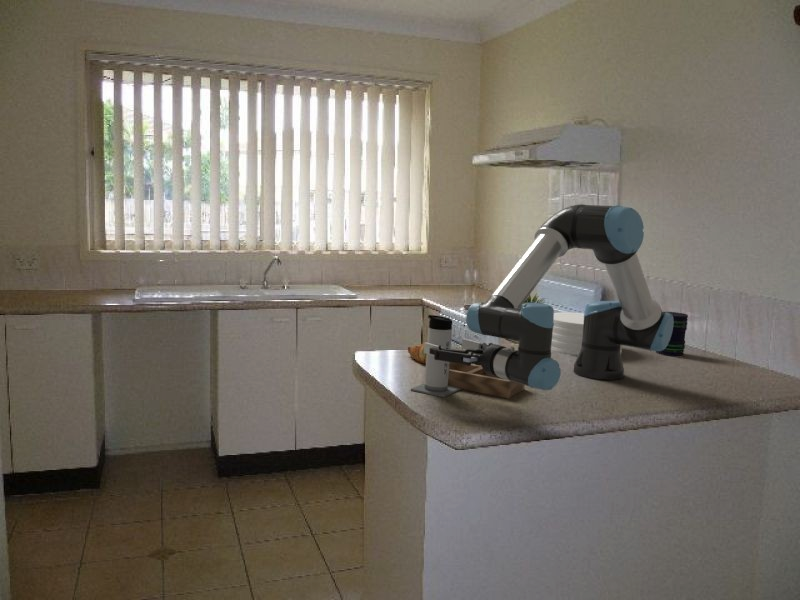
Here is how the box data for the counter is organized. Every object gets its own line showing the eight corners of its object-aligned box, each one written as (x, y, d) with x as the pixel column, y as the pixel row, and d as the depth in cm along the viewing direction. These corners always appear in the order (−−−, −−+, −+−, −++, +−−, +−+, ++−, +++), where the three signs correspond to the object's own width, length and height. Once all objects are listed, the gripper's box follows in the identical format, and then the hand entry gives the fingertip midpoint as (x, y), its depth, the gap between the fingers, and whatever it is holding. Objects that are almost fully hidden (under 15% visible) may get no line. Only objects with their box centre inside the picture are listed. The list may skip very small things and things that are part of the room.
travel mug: (421, 384, 193) (426, 313, 190) (445, 385, 193) (450, 314, 190) (424, 391, 187) (429, 317, 184) (449, 392, 187) (454, 318, 184)
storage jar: (654, 354, 256) (659, 314, 254) (655, 349, 265) (659, 310, 263) (684, 357, 253) (688, 317, 250) (684, 353, 262) (688, 313, 260)
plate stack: (636, 357, 250) (640, 325, 249) (565, 357, 243) (568, 325, 242) (596, 341, 277) (599, 312, 275) (531, 341, 270) (533, 311, 268)
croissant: (460, 378, 219) (470, 355, 220) (442, 367, 212) (452, 343, 213) (412, 363, 234) (422, 342, 235) (394, 352, 227) (404, 330, 229)
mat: (460, 389, 192) (460, 388, 192) (443, 397, 183) (443, 395, 183) (428, 383, 197) (428, 381, 197) (410, 390, 188) (410, 388, 188)
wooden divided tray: (524, 389, 196) (525, 373, 196) (508, 398, 186) (509, 381, 185) (444, 374, 209) (445, 359, 208) (425, 381, 199) (426, 366, 198)
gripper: (537, 342, 178) (478, 328, 194) (466, 351, 163) (408, 335, 179) (535, 371, 179) (476, 355, 195) (464, 382, 164) (407, 363, 180)
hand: (444, 345), depth 187 cm, fingers open, 13 cm apart
